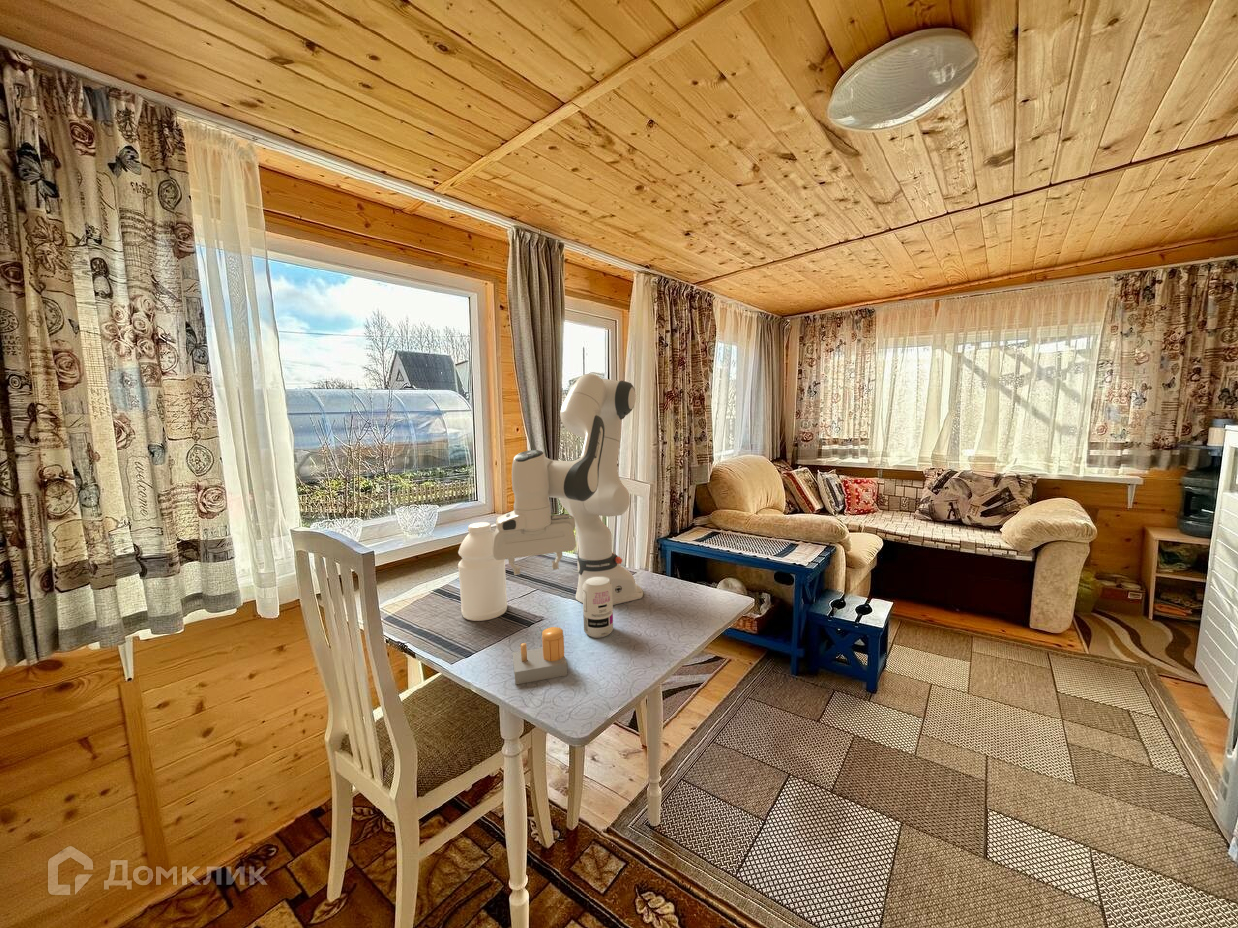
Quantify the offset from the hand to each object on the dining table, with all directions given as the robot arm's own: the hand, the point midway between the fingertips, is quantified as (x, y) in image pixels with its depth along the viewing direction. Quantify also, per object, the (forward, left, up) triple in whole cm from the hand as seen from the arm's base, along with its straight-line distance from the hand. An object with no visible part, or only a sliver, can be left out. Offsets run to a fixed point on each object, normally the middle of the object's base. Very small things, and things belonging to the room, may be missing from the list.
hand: (536, 571), depth 115 cm
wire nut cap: (-3, +6, -20) cm, 21 cm away
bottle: (+14, -32, -23) cm, 42 cm away
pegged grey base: (+1, +6, -23) cm, 23 cm away
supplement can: (-17, -8, -23) cm, 30 cm away
